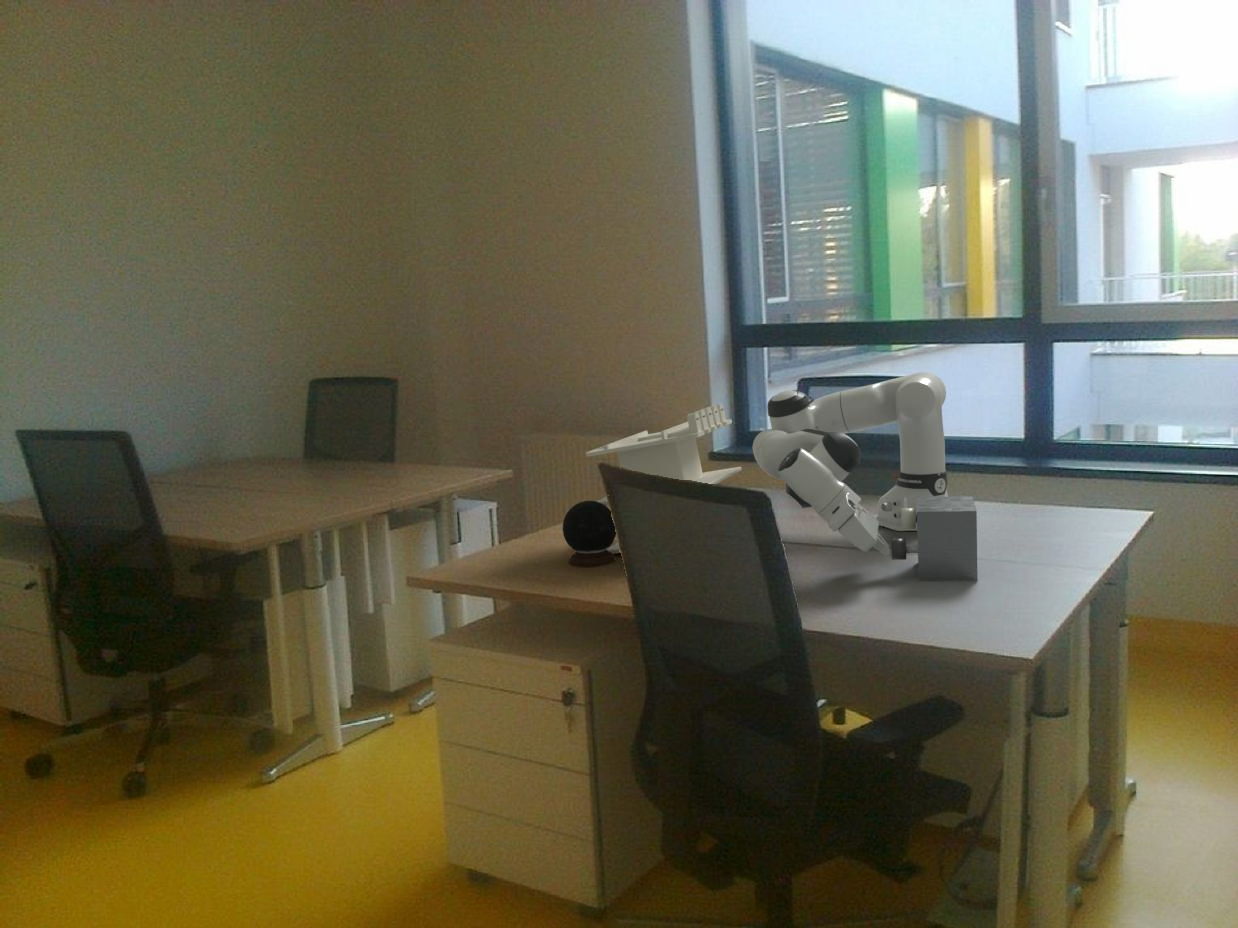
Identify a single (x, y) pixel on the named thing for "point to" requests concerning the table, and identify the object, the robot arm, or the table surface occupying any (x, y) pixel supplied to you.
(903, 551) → the charcoal knob
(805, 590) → the table surface
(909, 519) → the ivory knob
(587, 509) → the black crystal ball
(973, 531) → the control box
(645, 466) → the white spaceship model
